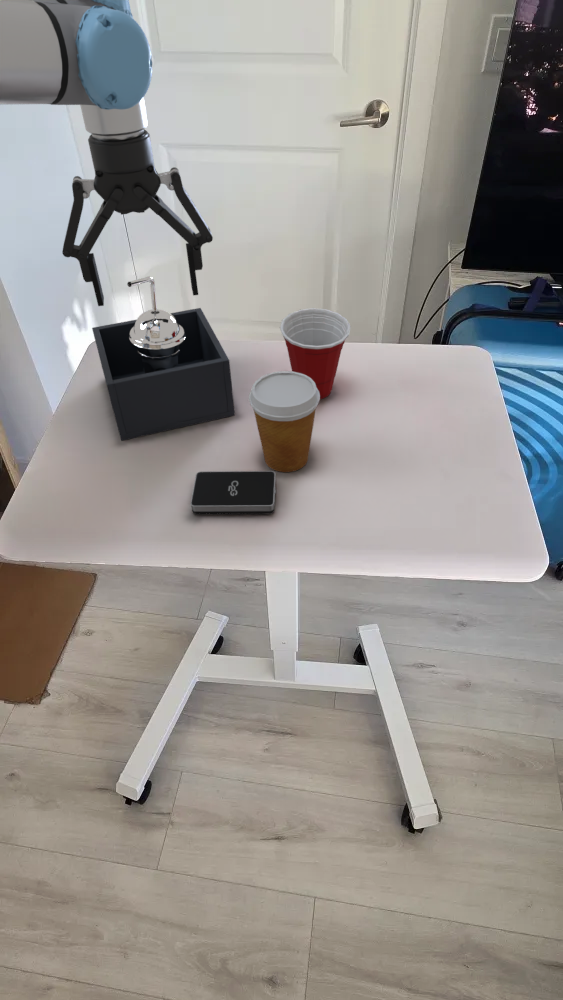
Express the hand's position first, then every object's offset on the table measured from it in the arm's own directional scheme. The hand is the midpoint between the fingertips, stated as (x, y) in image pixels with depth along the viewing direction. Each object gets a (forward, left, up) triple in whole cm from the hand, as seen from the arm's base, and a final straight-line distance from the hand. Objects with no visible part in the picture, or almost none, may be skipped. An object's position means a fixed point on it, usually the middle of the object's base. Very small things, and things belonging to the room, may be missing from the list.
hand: (148, 296), depth 91 cm
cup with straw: (-1, 0, -16) cm, 17 cm away
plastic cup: (+24, -4, -18) cm, 30 cm away
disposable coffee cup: (+16, -20, -18) cm, 31 cm away
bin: (0, 0, -18) cm, 18 cm away
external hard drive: (+8, -27, -18) cm, 33 cm away
